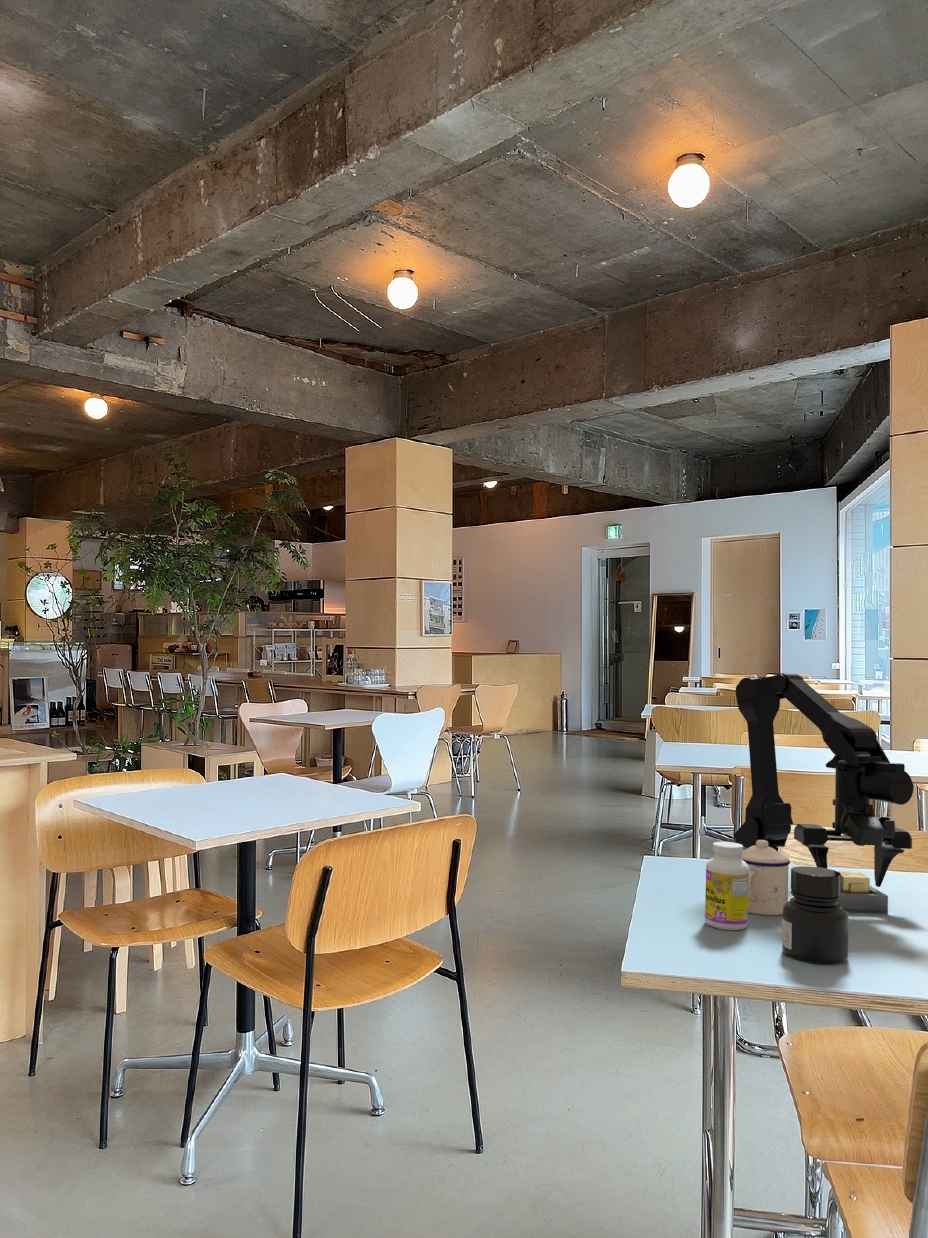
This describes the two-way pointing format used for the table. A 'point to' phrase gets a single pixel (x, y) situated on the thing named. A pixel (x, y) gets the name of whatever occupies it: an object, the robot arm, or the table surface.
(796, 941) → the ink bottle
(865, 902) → the dark grey tray
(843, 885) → the pale yellow block
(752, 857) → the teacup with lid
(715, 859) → the supplement bottle
